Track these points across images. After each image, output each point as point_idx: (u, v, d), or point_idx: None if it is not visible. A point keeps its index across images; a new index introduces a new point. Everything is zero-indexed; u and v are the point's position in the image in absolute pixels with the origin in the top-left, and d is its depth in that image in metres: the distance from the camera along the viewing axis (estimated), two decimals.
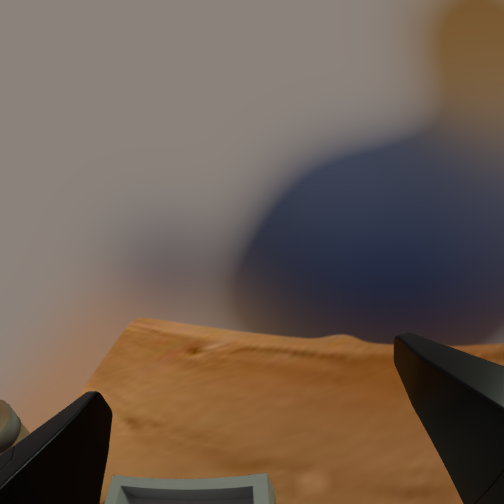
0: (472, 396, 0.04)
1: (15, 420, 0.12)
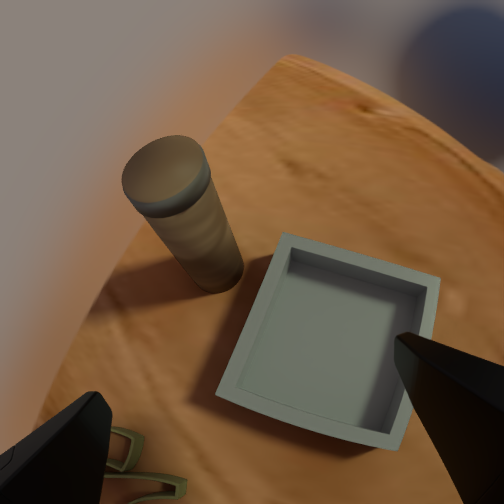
0: (472, 396, 0.04)
1: (207, 164, 0.15)
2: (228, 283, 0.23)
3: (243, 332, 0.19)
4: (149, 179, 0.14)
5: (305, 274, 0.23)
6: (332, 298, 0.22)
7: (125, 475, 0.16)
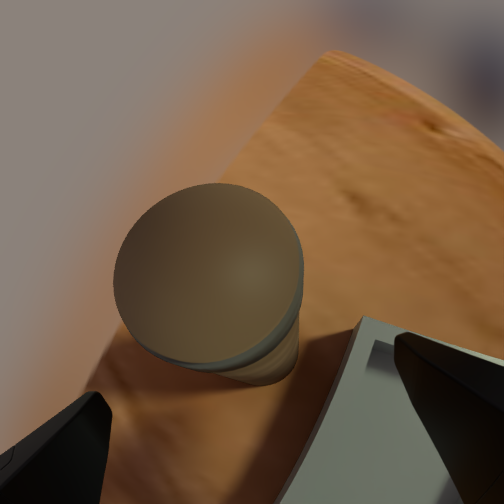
0: (472, 396, 0.04)
1: None
2: (279, 379, 0.16)
3: (306, 459, 0.12)
4: (177, 303, 0.06)
5: (382, 366, 0.15)
6: None
7: None
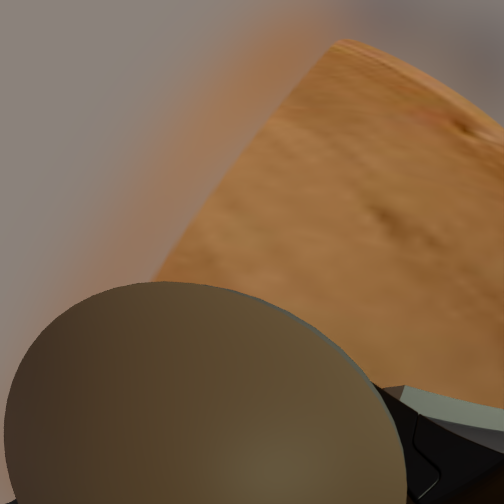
0: None
1: None
2: None
3: None
4: None
5: None
6: None
7: None
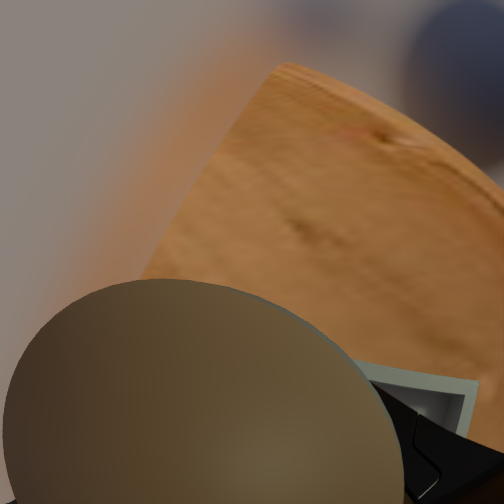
0: None
1: None
2: None
3: None
4: None
5: None
6: None
7: None
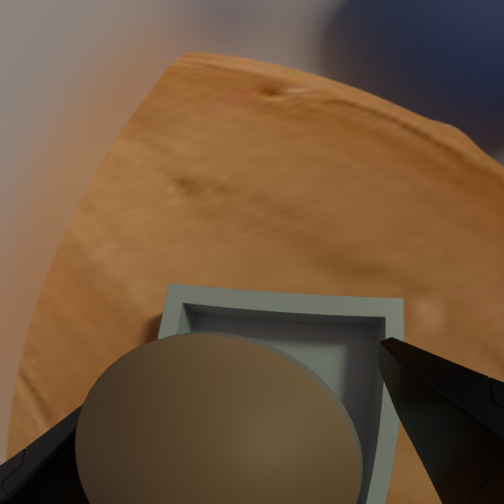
0: (452, 407, 0.04)
1: None
2: None
3: None
4: None
5: (214, 329, 0.17)
6: None
7: None
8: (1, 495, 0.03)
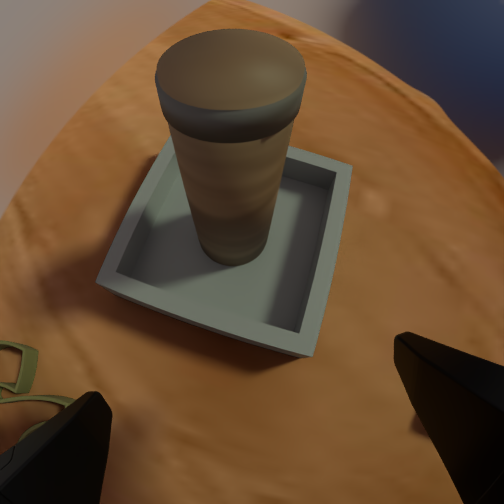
0: (472, 396, 0.04)
1: None
2: (245, 258, 0.17)
3: (128, 213, 0.17)
4: (208, 73, 0.07)
5: None
6: None
7: (19, 397, 0.14)
8: None
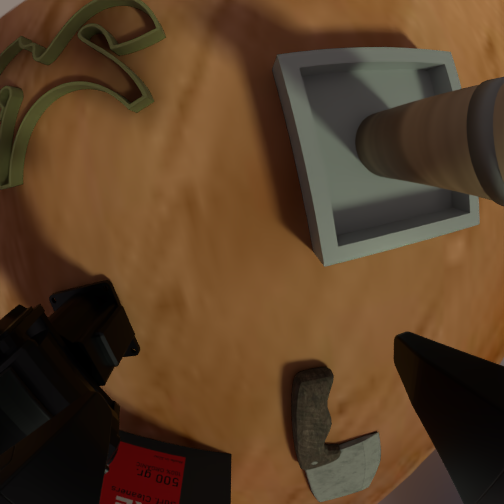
0: (472, 396, 0.04)
1: None
2: (372, 169, 0.17)
3: (353, 49, 0.14)
4: None
5: (424, 87, 0.16)
6: None
7: (109, 54, 0.14)
8: None
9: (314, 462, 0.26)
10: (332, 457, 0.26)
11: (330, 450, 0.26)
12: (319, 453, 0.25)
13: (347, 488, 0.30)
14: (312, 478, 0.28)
